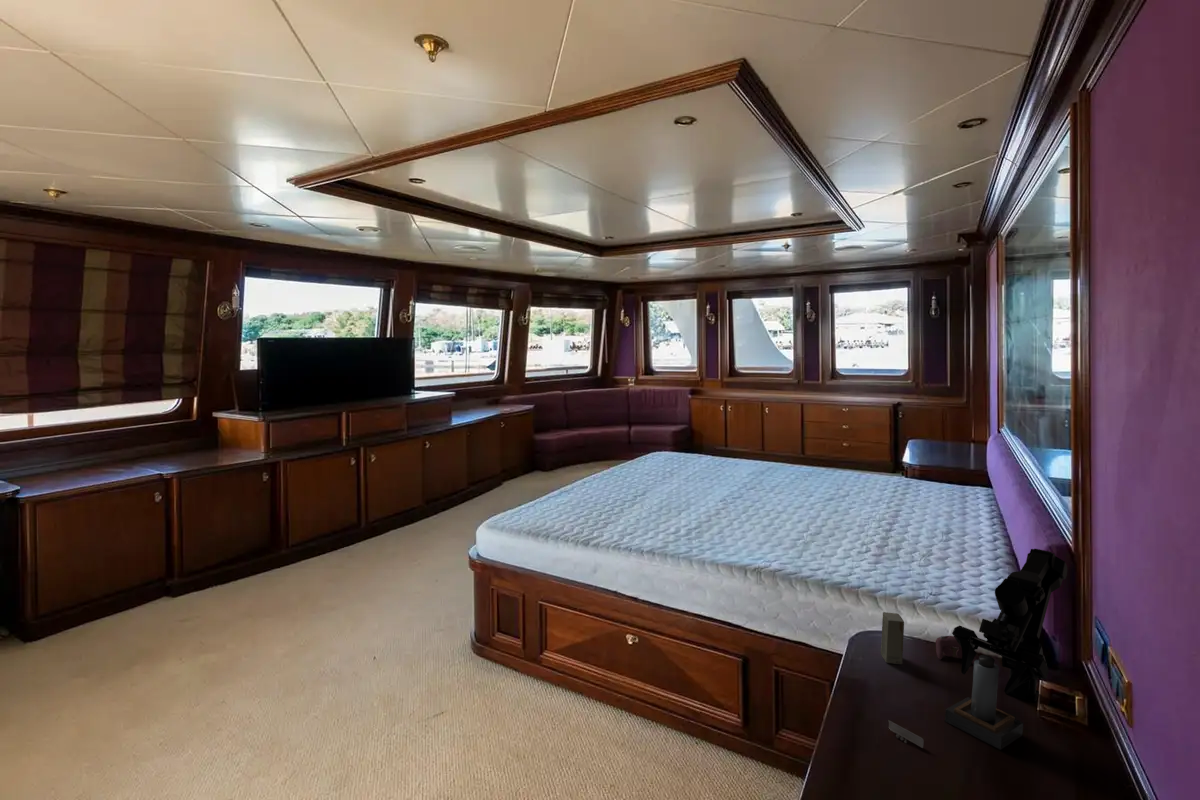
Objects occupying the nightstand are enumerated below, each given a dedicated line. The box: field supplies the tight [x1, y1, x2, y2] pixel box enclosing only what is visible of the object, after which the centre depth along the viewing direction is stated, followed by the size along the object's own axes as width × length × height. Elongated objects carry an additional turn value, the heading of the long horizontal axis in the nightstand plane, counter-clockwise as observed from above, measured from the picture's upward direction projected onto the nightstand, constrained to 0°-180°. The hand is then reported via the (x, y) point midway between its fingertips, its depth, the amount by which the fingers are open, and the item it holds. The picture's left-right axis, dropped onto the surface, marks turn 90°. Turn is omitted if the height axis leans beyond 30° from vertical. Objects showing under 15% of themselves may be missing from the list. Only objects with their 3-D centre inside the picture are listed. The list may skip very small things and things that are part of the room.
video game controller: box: [935, 635, 977, 666], centre depth 174 cm, size 10×5×7 cm, turn 72°
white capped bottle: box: [971, 654, 1000, 721], centre depth 141 cm, size 5×5×14 cm
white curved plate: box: [887, 719, 925, 749], centre depth 136 cm, size 4×8×3 cm, turn 34°
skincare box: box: [880, 611, 905, 665], centre depth 172 cm, size 6×4×12 cm
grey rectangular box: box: [944, 696, 1024, 751], centre depth 141 cm, size 10×12×4 cm
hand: (983, 682), depth 140 cm, fingers open, 9 cm apart
